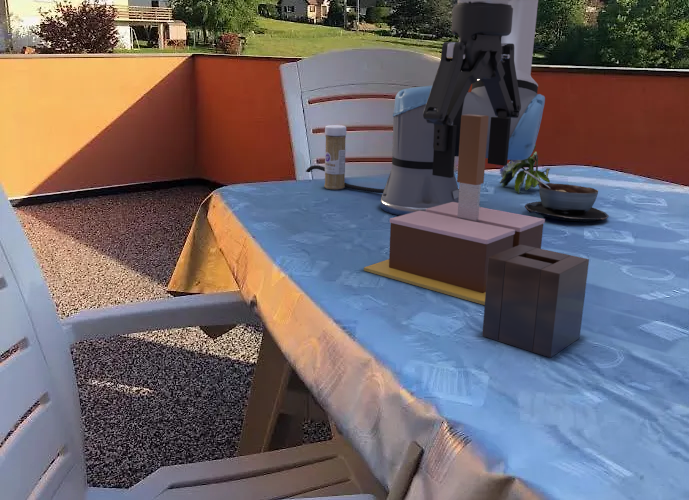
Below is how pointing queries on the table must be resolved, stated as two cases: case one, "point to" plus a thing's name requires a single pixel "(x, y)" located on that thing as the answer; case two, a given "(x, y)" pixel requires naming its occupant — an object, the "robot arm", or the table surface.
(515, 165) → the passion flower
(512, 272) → the knife block
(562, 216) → the soup bowl
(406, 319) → the table surface
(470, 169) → the knife
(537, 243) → the cake
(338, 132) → the sprinkles bottle
